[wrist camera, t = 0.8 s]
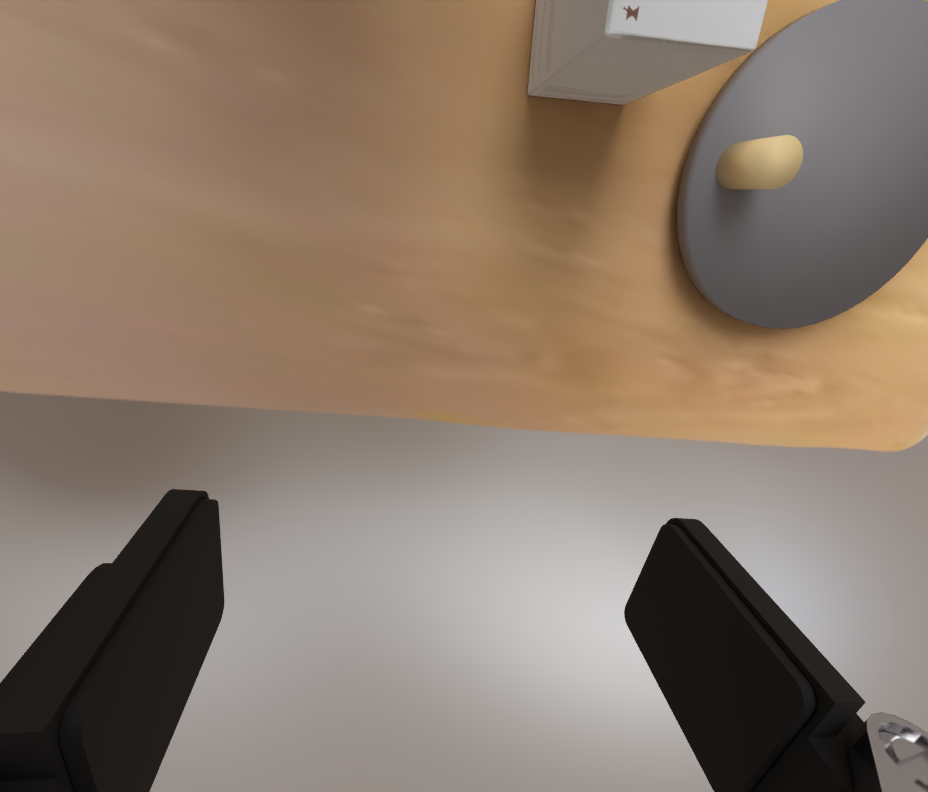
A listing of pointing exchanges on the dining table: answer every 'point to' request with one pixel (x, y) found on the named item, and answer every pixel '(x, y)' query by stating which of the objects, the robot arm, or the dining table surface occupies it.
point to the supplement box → (634, 44)
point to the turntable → (812, 167)
